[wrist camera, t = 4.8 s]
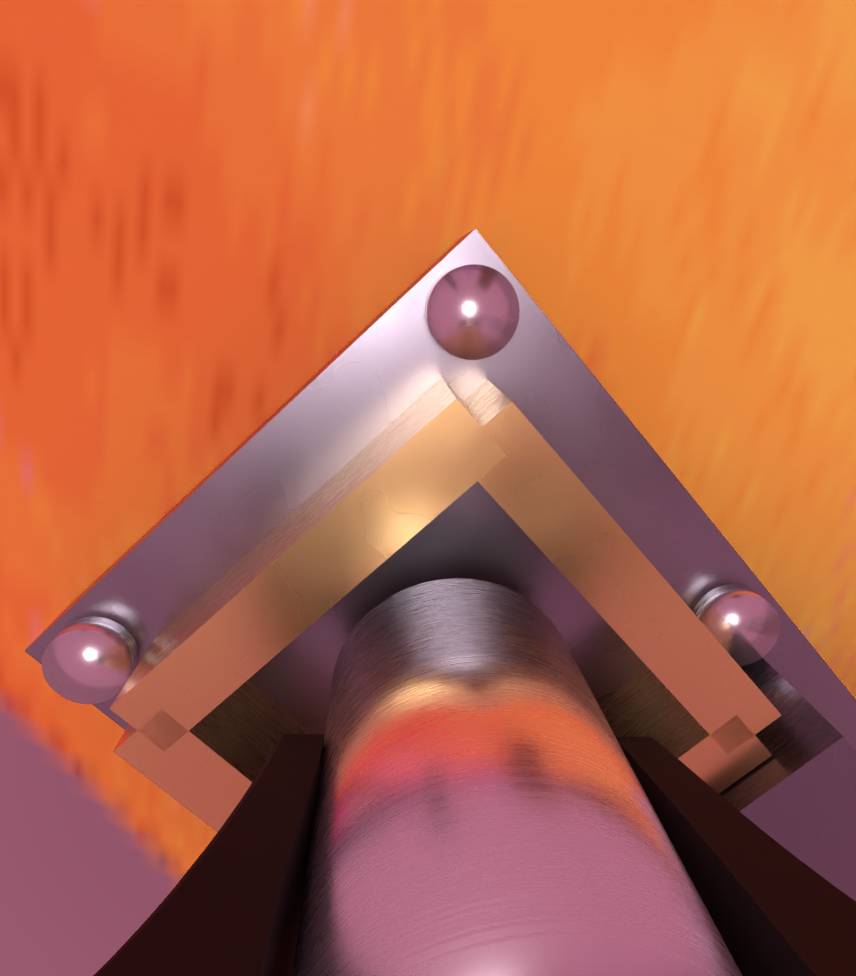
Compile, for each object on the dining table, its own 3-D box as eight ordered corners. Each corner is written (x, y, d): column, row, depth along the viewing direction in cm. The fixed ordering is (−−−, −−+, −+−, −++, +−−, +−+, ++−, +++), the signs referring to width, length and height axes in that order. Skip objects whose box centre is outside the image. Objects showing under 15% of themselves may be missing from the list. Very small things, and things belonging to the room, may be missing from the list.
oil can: (617, 706, 13) (1042, 1441, 5) (428, 831, 13) (502, 1696, 5) (481, 530, 12) (720, 1084, 3) (280, 674, 12) (66, 1462, 4)
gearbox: (856, 719, 18) (1031, 878, 13) (510, 969, 20) (552, 1190, 15) (462, 236, 14) (505, 210, 9) (69, 605, 15) (-72, 748, 11)
